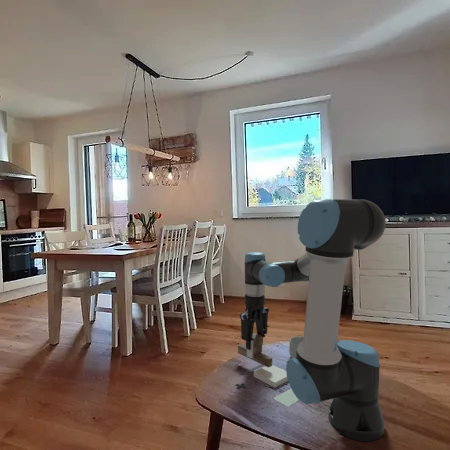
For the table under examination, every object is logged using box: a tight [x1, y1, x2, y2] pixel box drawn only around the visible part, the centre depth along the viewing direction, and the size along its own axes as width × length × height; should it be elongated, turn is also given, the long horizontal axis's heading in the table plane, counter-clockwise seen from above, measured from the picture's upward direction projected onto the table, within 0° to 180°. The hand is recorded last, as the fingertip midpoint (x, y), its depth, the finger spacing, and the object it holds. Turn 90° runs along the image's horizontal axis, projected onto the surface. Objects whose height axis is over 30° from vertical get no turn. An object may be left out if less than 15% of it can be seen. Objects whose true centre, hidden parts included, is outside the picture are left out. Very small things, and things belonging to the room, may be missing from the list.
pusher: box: [237, 332, 273, 368], centre depth 131 cm, size 4×16×9 cm, turn 41°
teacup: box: [288, 335, 304, 358], centre depth 139 cm, size 14×11×8 cm
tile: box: [253, 364, 288, 388], centre depth 125 cm, size 2×9×10 cm
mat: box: [242, 364, 265, 375], centre depth 126 cm, size 17×11×1 cm, turn 41°
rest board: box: [273, 388, 300, 408], centre depth 116 cm, size 6×19×1 cm, turn 131°
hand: (254, 355), depth 131 cm, fingers closed on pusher, 4 cm apart
